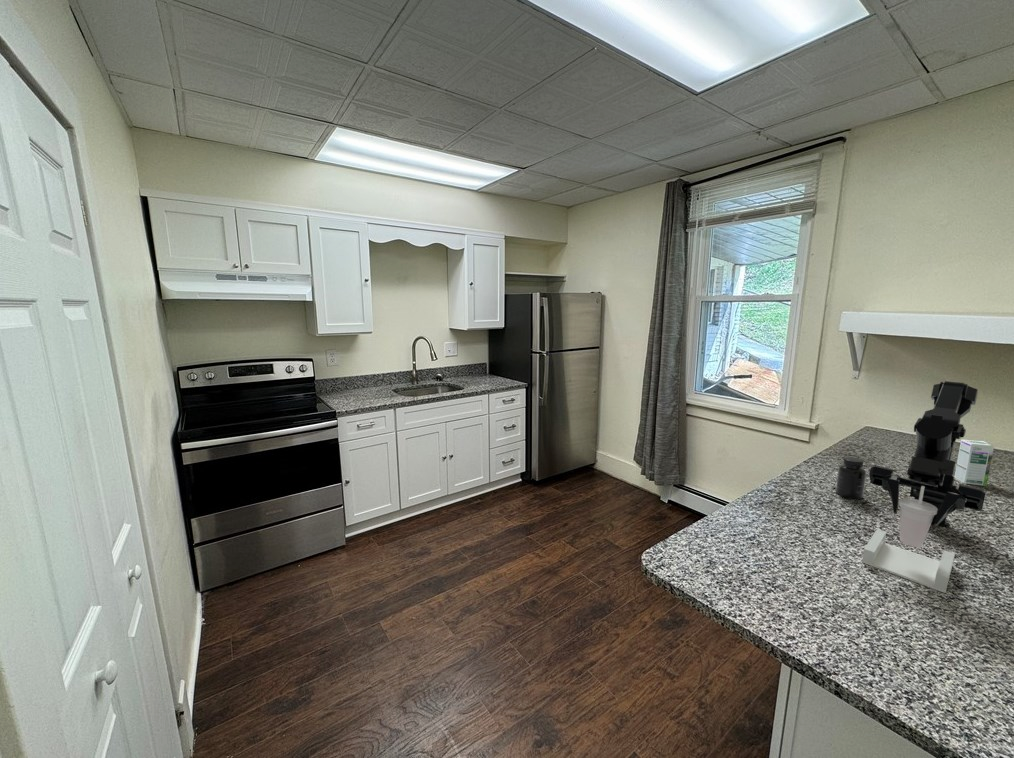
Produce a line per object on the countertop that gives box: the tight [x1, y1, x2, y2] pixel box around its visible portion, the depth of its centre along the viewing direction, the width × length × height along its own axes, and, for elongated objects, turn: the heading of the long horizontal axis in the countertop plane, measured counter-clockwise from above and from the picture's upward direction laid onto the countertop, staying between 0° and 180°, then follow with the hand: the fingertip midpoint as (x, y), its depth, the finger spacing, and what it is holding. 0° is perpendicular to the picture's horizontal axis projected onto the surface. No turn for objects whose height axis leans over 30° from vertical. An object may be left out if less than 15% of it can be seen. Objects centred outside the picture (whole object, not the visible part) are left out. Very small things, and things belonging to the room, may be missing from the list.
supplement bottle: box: [835, 456, 867, 500], centre depth 131 cm, size 7×7×12 cm
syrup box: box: [954, 439, 995, 487], centre depth 141 cm, size 6×6×14 cm
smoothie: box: [898, 486, 938, 549], centre depth 94 cm, size 6×6×14 cm
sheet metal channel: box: [861, 528, 956, 594], centre depth 95 cm, size 14×14×4 cm
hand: (914, 518), depth 93 cm, fingers closed on smoothie, 6 cm apart
